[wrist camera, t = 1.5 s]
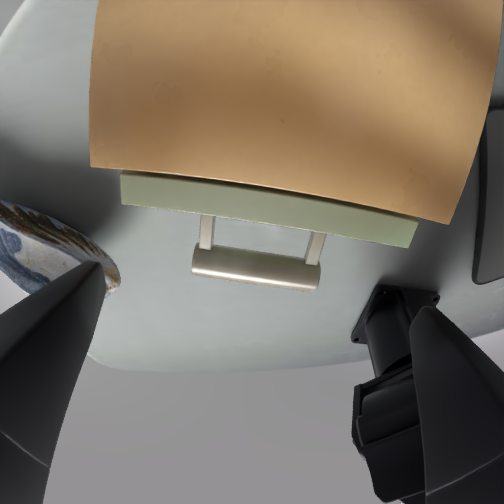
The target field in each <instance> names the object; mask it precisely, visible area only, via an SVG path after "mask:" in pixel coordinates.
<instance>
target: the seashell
mask: <svg viewBox="0 0 504 504" xmlns="http://www.w3.org/2000/svg"><path fill="white" fill-rule="evenodd" d="M87 260H92V261H98V262H100V263H101V264H102V265H103V270H104V275H105V281H106V288H107V289H106V295H105V298H106V297H107V296H109V295H110V294H111V293H113V292H114V291H115V290H116V289H117V288H118V287H119V286H120V283H121V277H120V274H119V270H118V268H117V265H116V264H115V263H114V261H113V260H112V259H111V258H110V257H109V256H108V255H107V254H106V253H105V252H104V251H103V250H102V249H101V248H100V247H99V246H98V245H97V244H96V243H94V242H93V241H92V240H91V239H89V238H88V237H87V236H85V235H84V234H82V233H80V232H78V231H76V230H74V229H72V228H70V227H69V226H67V225H65V224H63V223H61V222H59V221H58V220H56V219H54V218H52V217H50V216H48V215H45V214H42V213H39V212H37V211H34V210H32V209H29V208H27V207H25V206H22V205H19V204H15V203H8V202H5V201H3V200H0V270H1V271H3V272H4V273H5V274H6V275H7V276H8V277H9V278H10V279H11V280H12V281H13V282H14V283H16V284H17V285H18V286H19V287H20V288H21V289H23V290H24V291H26V292H28V293H29V294H32V293H34V292H35V291H37V290H39V289H40V288H42V287H43V286H45V285H47V284H48V283H50V282H51V281H53V280H55V279H56V278H58V277H59V276H61V275H63V274H64V273H66V272H68V271H69V270H71V269H73V268H74V267H76V266H78V265H79V264H81V263H83V262H85V261H87Z"/></svg>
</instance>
